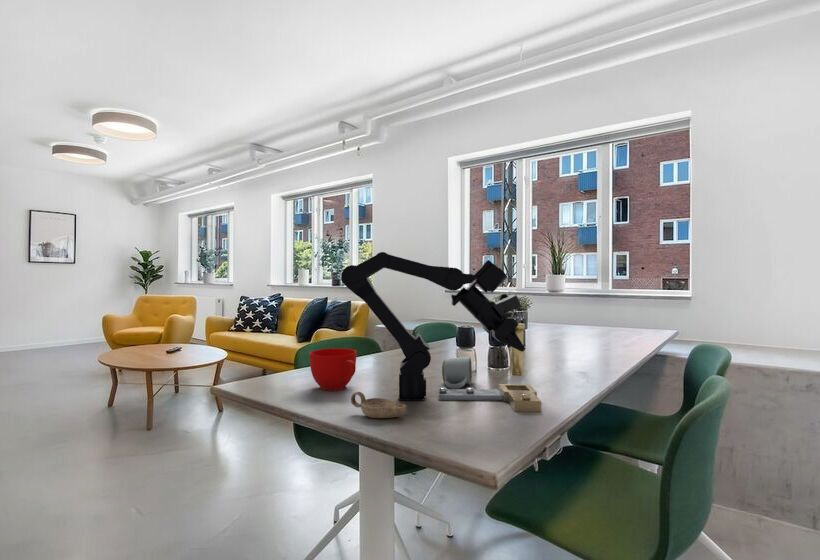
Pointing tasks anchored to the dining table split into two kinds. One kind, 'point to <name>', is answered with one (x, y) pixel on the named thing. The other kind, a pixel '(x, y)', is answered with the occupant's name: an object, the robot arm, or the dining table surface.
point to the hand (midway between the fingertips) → (522, 349)
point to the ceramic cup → (333, 367)
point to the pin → (517, 354)
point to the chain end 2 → (521, 397)
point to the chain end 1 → (471, 394)
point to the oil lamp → (378, 407)
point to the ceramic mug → (457, 372)
